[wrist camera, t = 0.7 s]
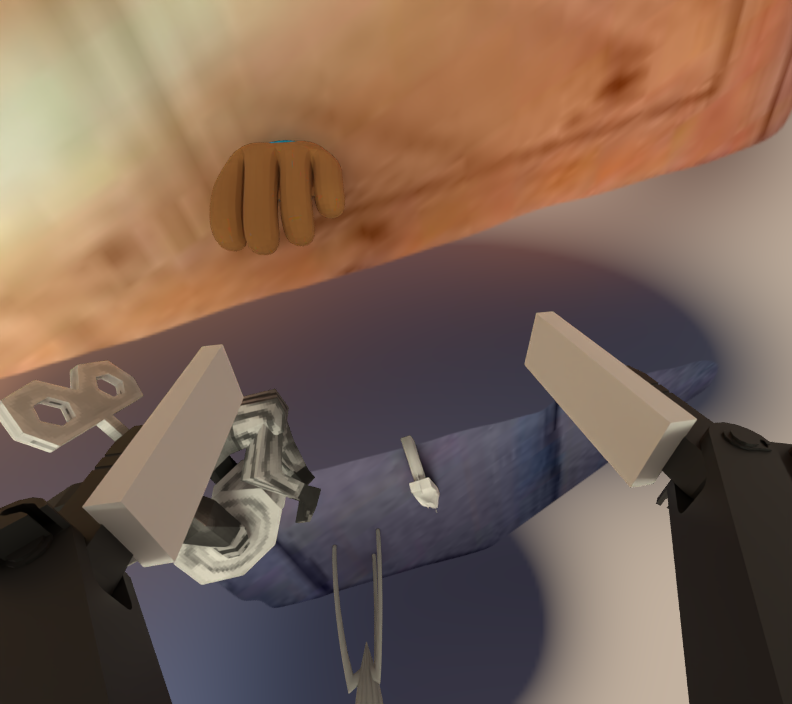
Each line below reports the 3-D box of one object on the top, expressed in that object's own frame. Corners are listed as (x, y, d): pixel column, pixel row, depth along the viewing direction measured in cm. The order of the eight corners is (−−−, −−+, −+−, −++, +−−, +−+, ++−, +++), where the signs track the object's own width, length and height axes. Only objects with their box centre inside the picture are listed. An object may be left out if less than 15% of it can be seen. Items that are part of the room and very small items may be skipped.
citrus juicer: (375, 555, 73) (390, 763, 48) (332, 559, 71) (325, 778, 46) (379, 528, 67) (400, 750, 42) (333, 531, 65) (325, 765, 40)
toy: (318, 486, 56) (118, 582, 45) (261, 320, 51) (19, 383, 40) (348, 568, 36) (6, 773, 25) (260, 311, 31) (-216, 429, 20)
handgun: (394, 437, 50) (407, 512, 44) (417, 431, 50) (433, 506, 44) (416, 458, 67) (428, 514, 62) (433, 454, 67) (447, 510, 61)
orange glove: (234, 225, 32) (164, 268, 20) (208, 146, 29) (102, 137, 16) (348, 215, 33) (350, 250, 21) (338, 137, 30) (333, 122, 17)
